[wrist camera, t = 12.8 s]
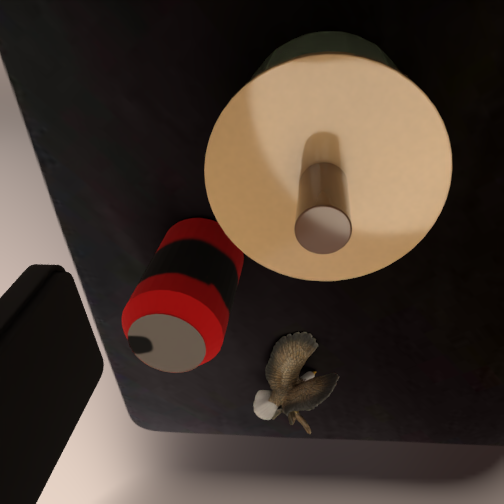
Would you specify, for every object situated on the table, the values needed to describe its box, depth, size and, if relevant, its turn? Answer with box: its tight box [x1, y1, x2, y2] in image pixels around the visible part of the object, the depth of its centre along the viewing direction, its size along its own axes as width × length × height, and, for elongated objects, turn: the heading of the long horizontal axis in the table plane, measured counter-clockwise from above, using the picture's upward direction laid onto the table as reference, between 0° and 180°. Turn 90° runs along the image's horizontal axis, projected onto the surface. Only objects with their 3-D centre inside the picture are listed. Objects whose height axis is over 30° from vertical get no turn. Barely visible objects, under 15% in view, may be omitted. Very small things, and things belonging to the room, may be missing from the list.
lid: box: [204, 52, 452, 281], centre depth 23 cm, size 13×13×6 cm
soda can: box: [122, 218, 244, 373], centre depth 37 cm, size 8×8×12 cm
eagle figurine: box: [253, 332, 339, 434], centre depth 46 cm, size 8×7×9 cm
